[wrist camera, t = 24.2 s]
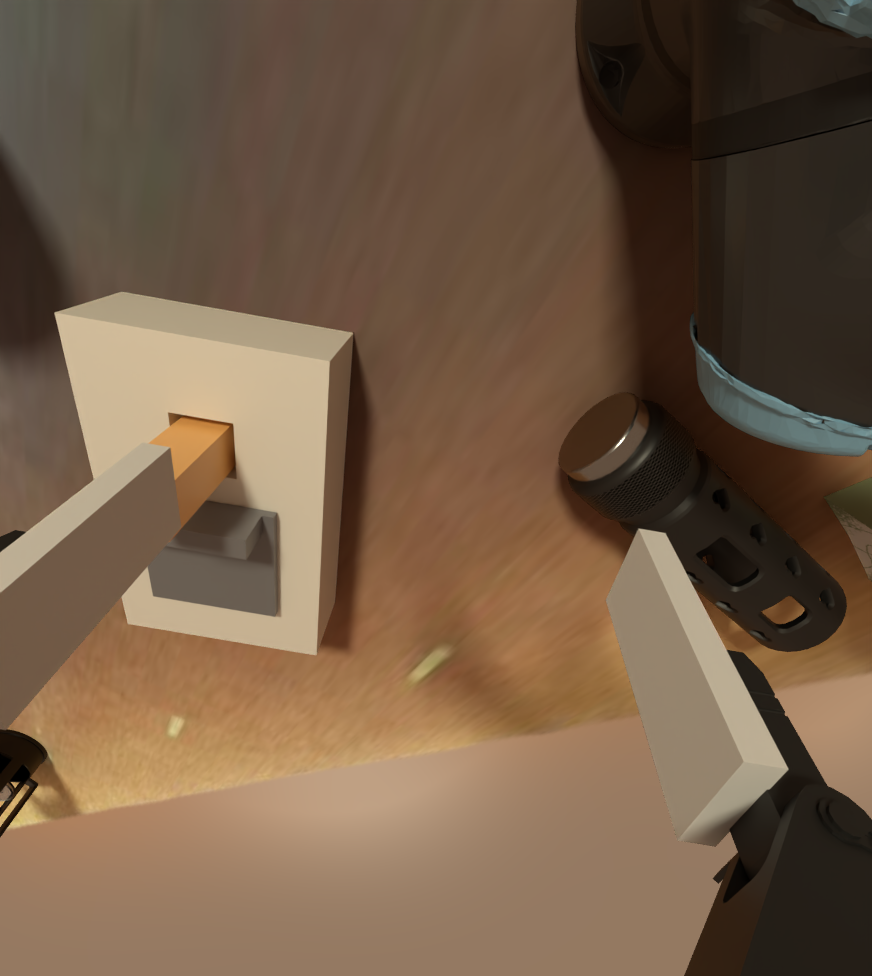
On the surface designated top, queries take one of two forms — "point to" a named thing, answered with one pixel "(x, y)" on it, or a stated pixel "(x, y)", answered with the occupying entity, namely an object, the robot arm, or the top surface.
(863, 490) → the grocery bag
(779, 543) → the muzzle brake
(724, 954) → the robot arm
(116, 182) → the top surface
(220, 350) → the socket block
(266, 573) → the shutter
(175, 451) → the plug peg
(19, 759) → the french press
